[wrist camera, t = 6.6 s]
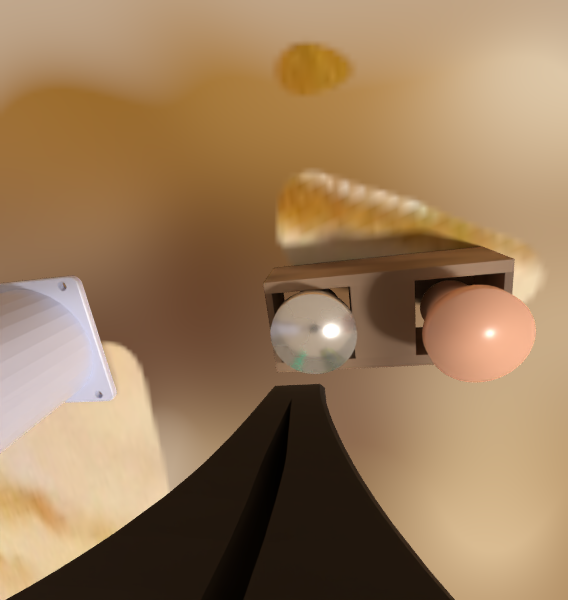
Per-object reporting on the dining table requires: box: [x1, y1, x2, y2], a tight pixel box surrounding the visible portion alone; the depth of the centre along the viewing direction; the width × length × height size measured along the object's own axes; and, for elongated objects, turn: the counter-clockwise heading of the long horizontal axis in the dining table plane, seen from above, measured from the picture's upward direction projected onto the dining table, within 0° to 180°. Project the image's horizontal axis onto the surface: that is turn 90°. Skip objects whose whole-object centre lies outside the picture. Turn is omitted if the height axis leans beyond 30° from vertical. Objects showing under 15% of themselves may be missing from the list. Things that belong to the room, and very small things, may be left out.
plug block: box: [263, 247, 515, 372], centre depth 16 cm, size 10×4×3 cm, turn 98°
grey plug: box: [271, 288, 357, 374], centre depth 16 cm, size 4×4×4 cm
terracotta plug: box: [420, 280, 536, 382], centre depth 14 cm, size 4×4×4 cm
